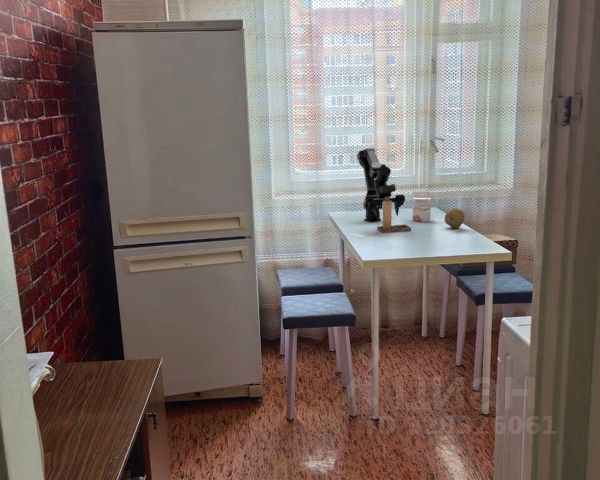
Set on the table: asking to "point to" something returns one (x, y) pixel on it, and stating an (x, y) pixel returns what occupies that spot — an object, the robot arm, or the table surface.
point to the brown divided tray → (394, 228)
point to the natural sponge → (454, 218)
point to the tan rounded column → (387, 212)
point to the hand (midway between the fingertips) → (387, 215)
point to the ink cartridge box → (421, 206)
